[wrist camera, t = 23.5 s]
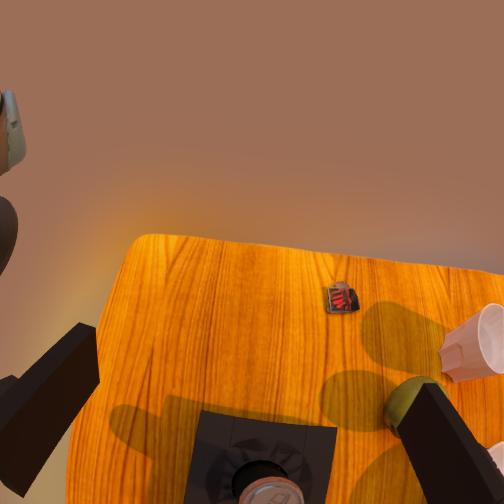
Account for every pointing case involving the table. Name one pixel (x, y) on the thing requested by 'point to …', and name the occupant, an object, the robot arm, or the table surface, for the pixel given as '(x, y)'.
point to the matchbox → (342, 298)
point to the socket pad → (257, 456)
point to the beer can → (264, 485)
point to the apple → (404, 401)
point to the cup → (475, 346)
